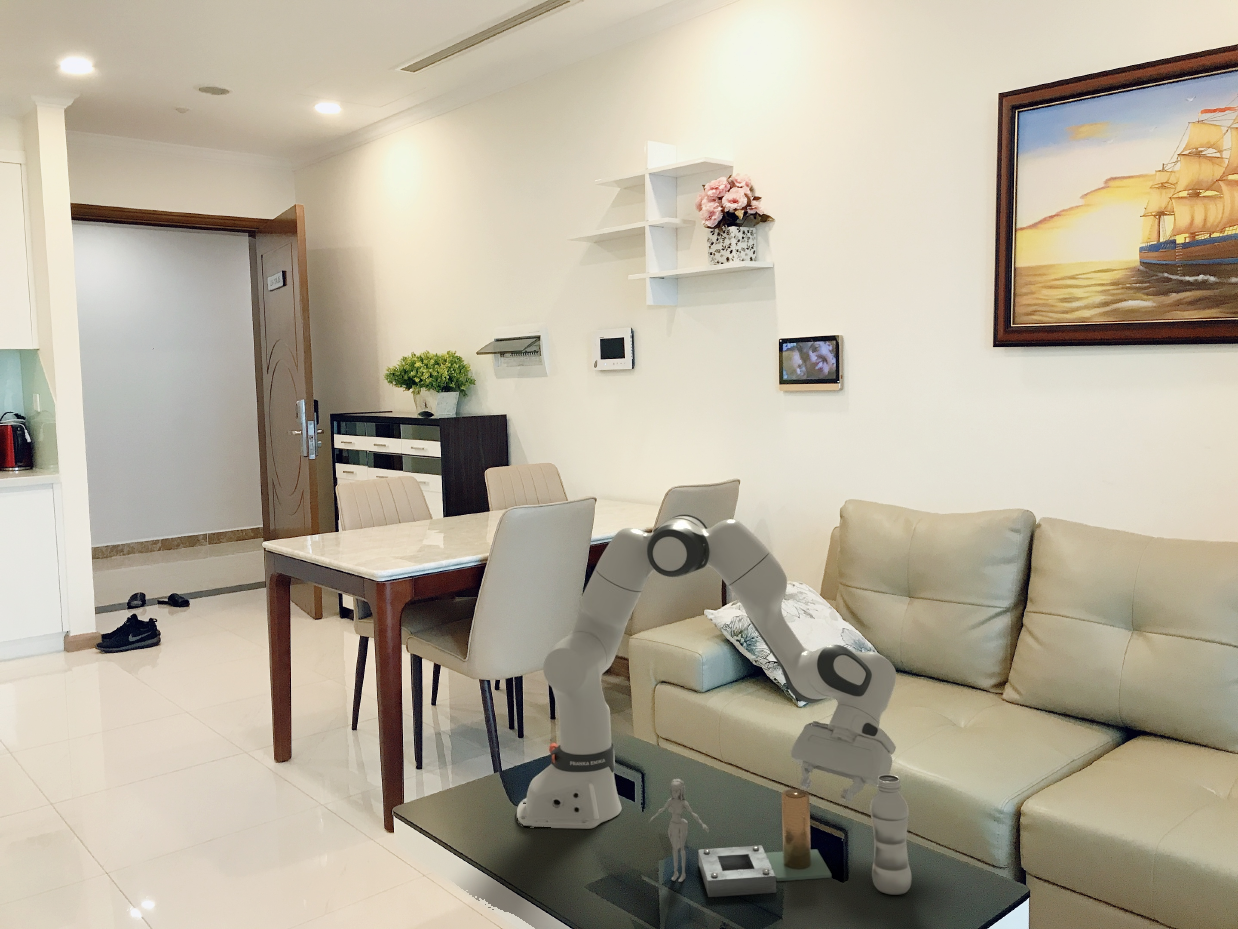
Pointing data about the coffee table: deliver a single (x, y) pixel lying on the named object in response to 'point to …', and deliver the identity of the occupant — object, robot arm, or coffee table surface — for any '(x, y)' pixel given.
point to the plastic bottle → (890, 837)
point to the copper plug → (796, 829)
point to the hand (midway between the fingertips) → (824, 793)
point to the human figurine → (678, 823)
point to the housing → (736, 871)
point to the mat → (812, 872)
